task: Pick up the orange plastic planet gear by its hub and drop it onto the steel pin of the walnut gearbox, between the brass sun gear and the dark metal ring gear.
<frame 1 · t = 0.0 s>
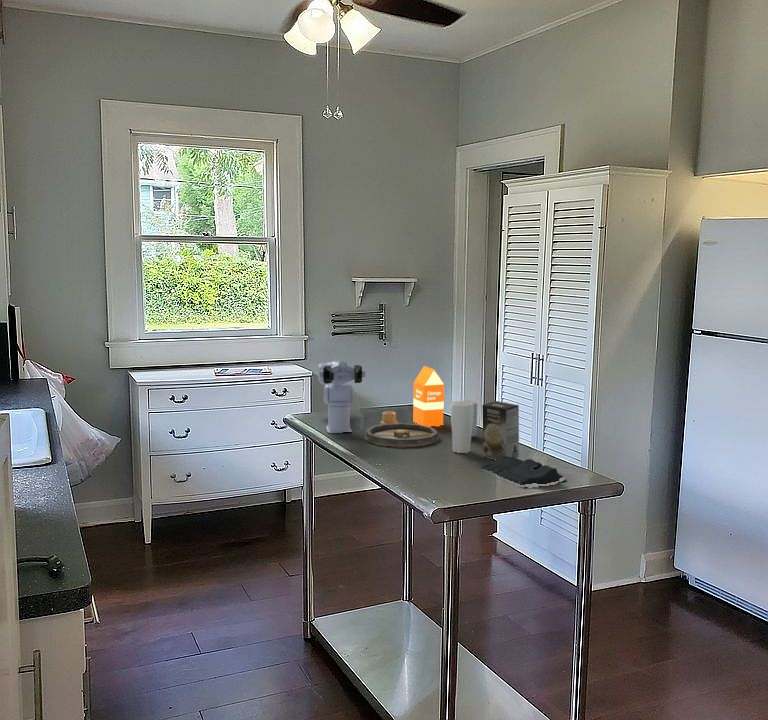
hand: (345, 375, 241), 22 cm above the table, tool horizontal, fingers open, 7 cm apart
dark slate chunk: (521, 478, 212), on the table
planet gear: (389, 425, 271), on the table
coffee box: (501, 458, 229), on the table
orange juice: (428, 424, 274), on the table
drinking glass: (461, 452, 237), on the table
gearbox carrier: (401, 438, 253), on the table
supplement box: (464, 437, 256), on the table
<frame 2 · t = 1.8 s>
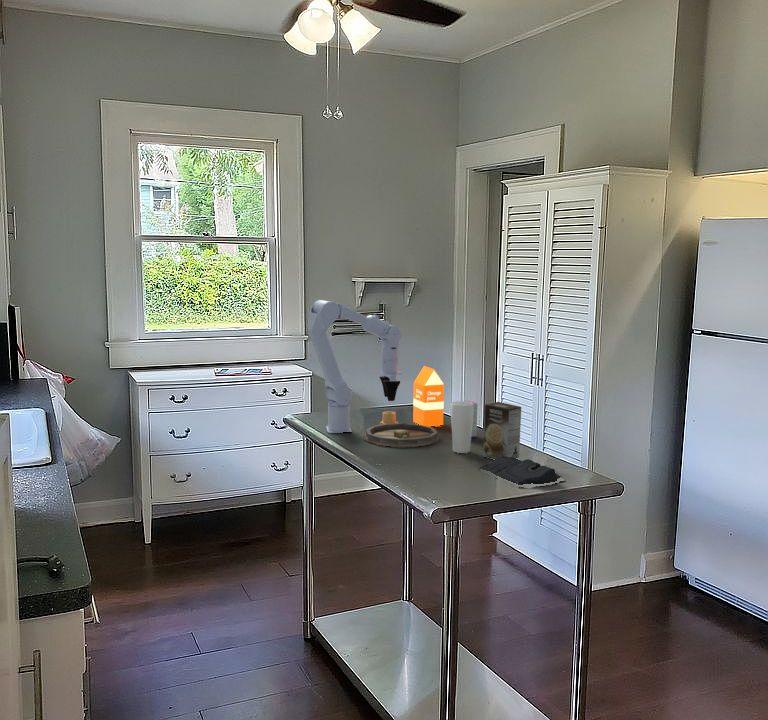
hand: (389, 398, 270), 9 cm above the table, tool pointing down, fingers open, 7 cm apart
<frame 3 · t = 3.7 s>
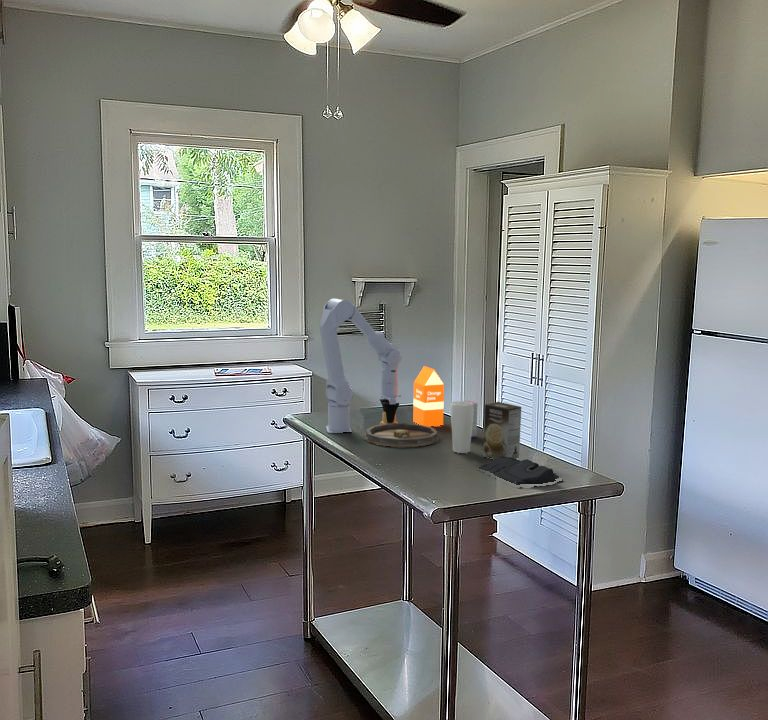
hand: (389, 420, 271), 2 cm above the table, tool pointing down, fingers closed on planet gear, 4 cm apart
planet gear: (389, 425, 271), on the table, touching gripper
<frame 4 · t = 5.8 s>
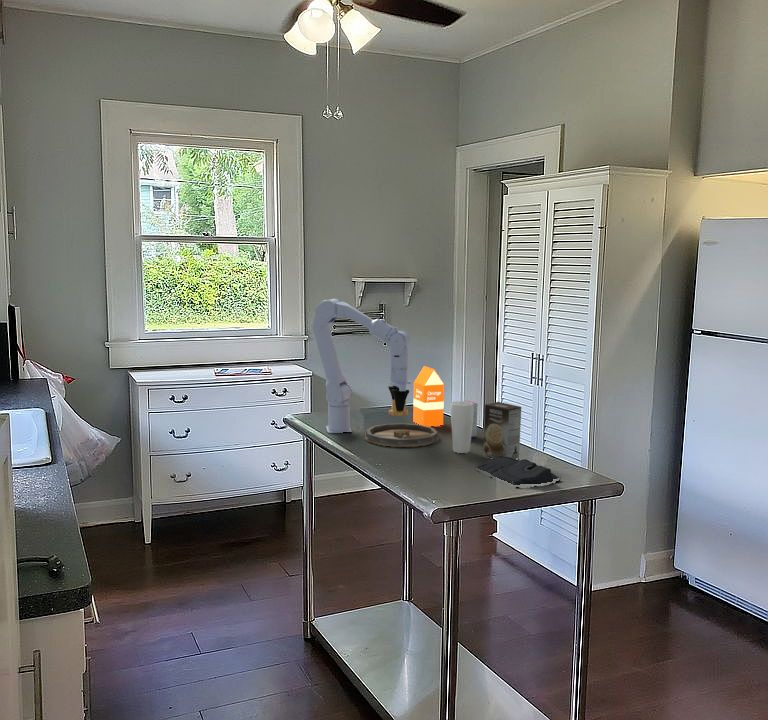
hand: (398, 409, 256), 9 cm above the table, tool pointing down, fingers closed on planet gear, 4 cm apart
planet gear: (398, 414, 256), point 7 cm above the table, touching gripper
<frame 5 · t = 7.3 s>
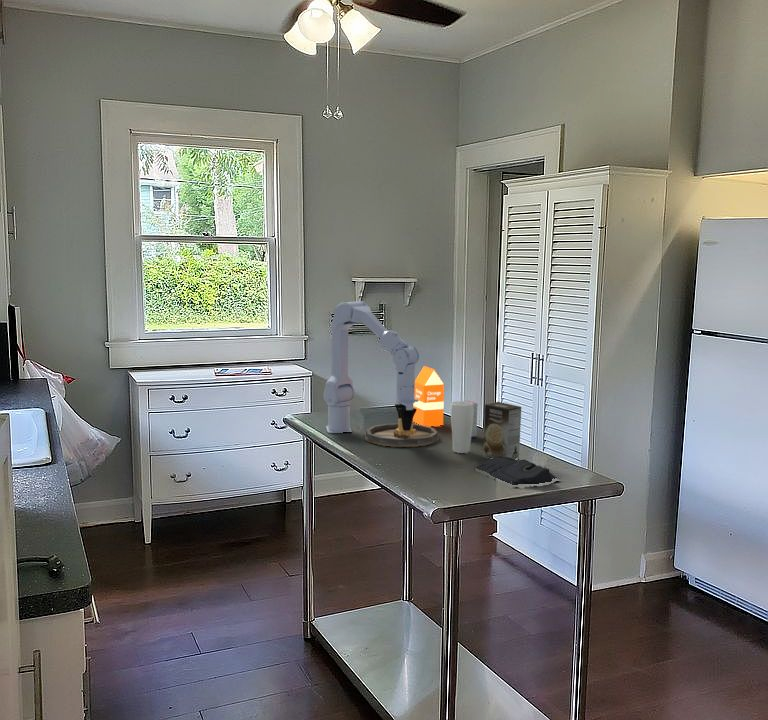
hand: (405, 428, 246), 5 cm above the table, tool pointing down, fingers closed on planet gear, 4 cm apart
planet gear: (405, 433, 246), point 3 cm above the table, touching gripper
when the fingers open (5 cm above the table, at t = 8.1 s): planet gear drops 2 cm, resting on gearbox carrier.
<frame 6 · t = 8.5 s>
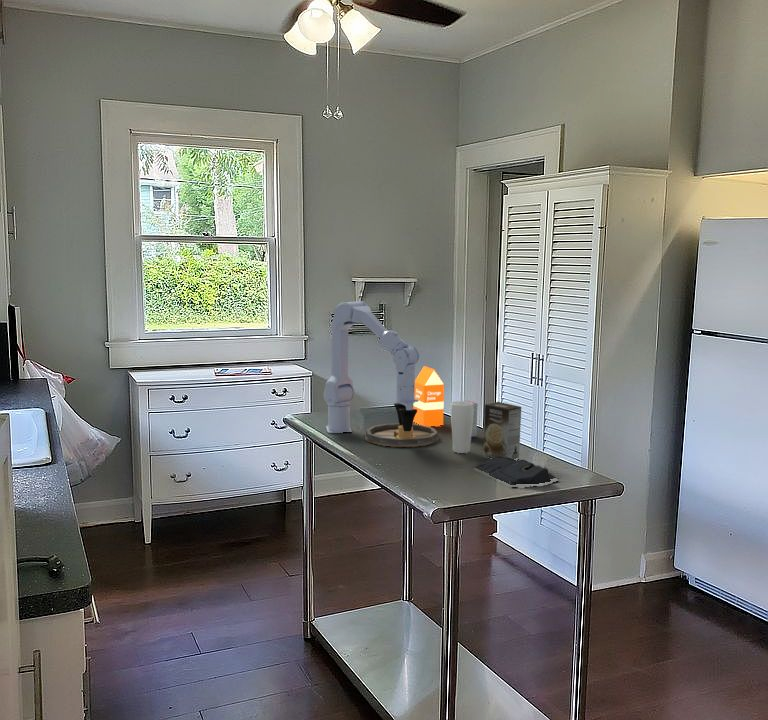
hand: (405, 428, 246), 5 cm above the table, tool pointing down, fingers open, 7 cm apart
planet gear: (405, 440, 247), point 1 cm above the table, touching gearbox carrier
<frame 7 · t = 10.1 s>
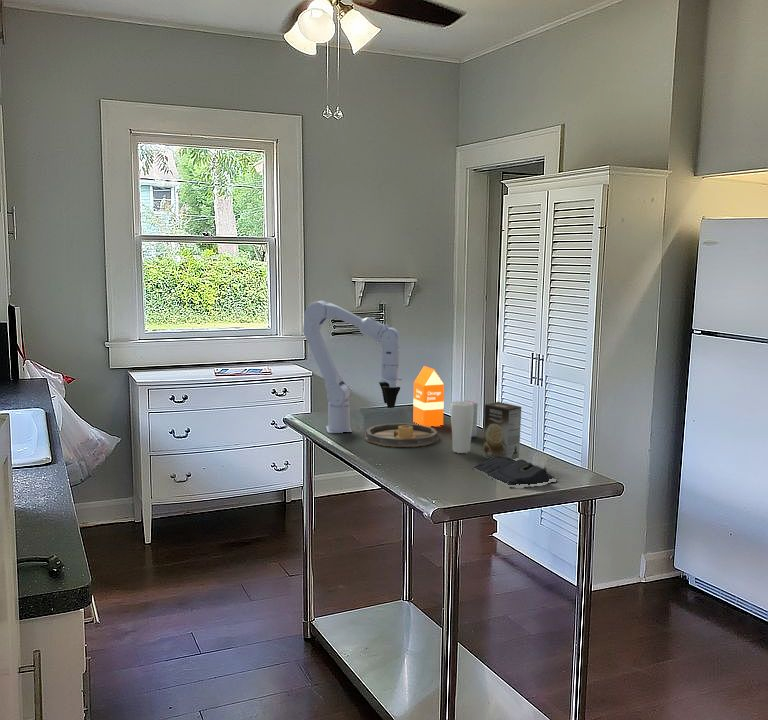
hand: (389, 405, 259), 9 cm above the table, tool pointing down, fingers open, 7 cm apart
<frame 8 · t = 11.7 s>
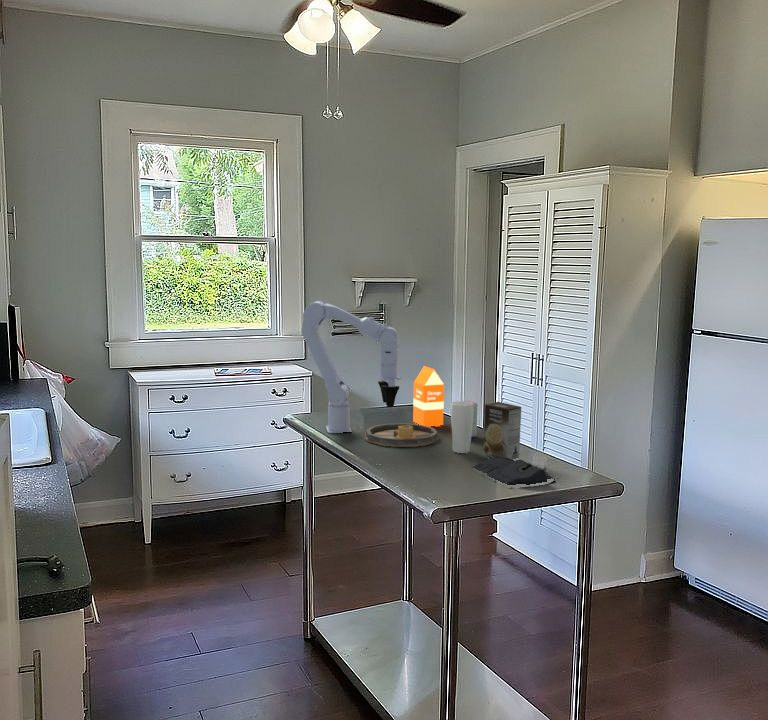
hand: (388, 404, 260), 9 cm above the table, tool pointing down, fingers open, 7 cm apart
at the end: planet gear 0.1 cm from the target spot on the gearbox carrier, point 0.8 cm above the gearbox carrier's base; planet gear tilted 0°; the gripper is holding nothing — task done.
